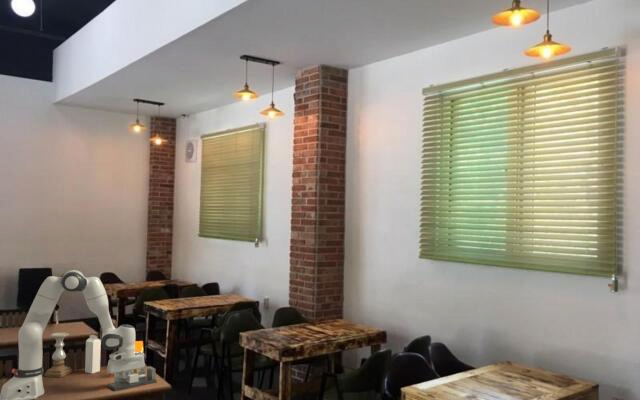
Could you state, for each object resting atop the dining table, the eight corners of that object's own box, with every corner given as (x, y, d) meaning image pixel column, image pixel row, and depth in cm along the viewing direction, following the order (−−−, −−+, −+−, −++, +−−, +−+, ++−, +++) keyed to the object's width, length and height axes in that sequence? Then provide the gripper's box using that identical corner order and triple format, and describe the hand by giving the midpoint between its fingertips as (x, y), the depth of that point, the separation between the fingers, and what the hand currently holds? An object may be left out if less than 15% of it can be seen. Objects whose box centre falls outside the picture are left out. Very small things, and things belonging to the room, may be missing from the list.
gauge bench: (114, 391, 294) (115, 375, 294) (107, 386, 302) (108, 370, 302) (156, 382, 310) (157, 367, 310) (148, 378, 318) (149, 363, 318)
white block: (129, 383, 302) (129, 376, 302) (125, 380, 307) (125, 373, 307) (146, 380, 308) (147, 372, 308) (142, 377, 313) (142, 370, 313)
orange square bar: (136, 379, 310) (136, 370, 310) (135, 378, 310) (135, 369, 311) (138, 378, 310) (138, 370, 310) (137, 378, 311) (137, 369, 311)
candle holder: (61, 377, 315) (62, 336, 315) (44, 376, 316) (45, 335, 317) (72, 372, 326) (73, 332, 326) (55, 370, 327) (57, 331, 328)
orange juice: (127, 373, 326) (128, 339, 327) (142, 372, 328) (143, 339, 329) (125, 377, 319) (126, 343, 319) (141, 376, 320) (142, 342, 321)
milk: (92, 369, 331) (93, 333, 332) (100, 371, 329) (101, 334, 330) (84, 372, 326) (86, 335, 327) (92, 373, 323) (93, 336, 324)
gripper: (142, 349, 312) (141, 373, 312) (106, 355, 299) (105, 380, 298) (146, 352, 307) (146, 376, 307) (110, 357, 294) (109, 383, 294)
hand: (125, 378), depth 303 cm, fingers closed
